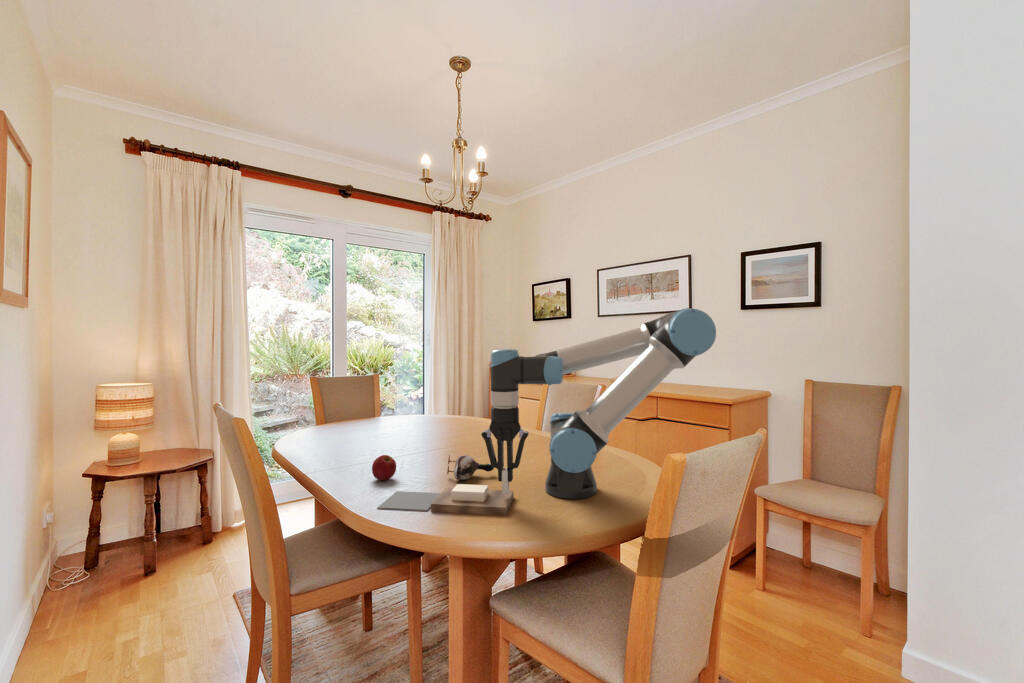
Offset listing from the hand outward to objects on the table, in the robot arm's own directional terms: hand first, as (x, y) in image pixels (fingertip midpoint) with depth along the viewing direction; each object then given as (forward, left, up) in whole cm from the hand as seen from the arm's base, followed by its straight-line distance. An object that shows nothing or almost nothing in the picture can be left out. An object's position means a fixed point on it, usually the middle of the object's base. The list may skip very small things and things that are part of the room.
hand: (505, 493), depth 124 cm
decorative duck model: (+15, -21, -4) cm, 26 cm away
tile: (+10, 0, -1) cm, 10 cm away
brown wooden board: (+9, 0, -3) cm, 10 cm away
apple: (+43, -18, -4) cm, 46 cm away
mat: (+27, 0, -3) cm, 27 cm away
